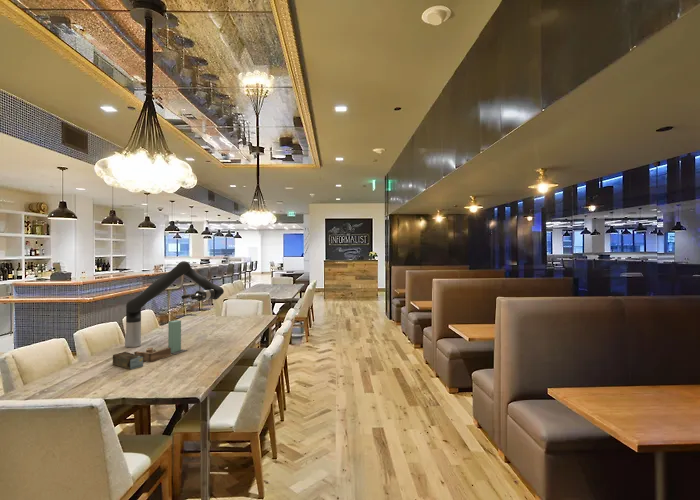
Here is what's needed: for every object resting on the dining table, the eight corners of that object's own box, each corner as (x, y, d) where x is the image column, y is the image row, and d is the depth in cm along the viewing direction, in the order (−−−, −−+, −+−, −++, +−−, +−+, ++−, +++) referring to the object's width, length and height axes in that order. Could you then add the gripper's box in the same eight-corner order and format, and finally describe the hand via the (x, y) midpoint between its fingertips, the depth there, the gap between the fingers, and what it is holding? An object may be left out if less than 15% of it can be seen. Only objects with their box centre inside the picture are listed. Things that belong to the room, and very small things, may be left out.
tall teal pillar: (168, 352, 251) (168, 322, 251) (176, 349, 258) (176, 320, 258) (173, 352, 250) (173, 322, 250) (180, 350, 257) (181, 320, 257)
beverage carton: (129, 370, 215) (129, 358, 215) (111, 365, 225) (111, 353, 225) (143, 366, 222) (143, 355, 222) (125, 361, 232) (125, 350, 232)
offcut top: (146, 354, 237) (146, 350, 237) (147, 352, 242) (147, 348, 242) (151, 353, 238) (151, 349, 238) (152, 351, 243) (152, 347, 243)
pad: (161, 353, 250) (161, 352, 250) (174, 349, 261) (174, 348, 261) (175, 354, 247) (175, 354, 247) (187, 350, 257) (187, 349, 257)
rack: (133, 360, 234) (133, 351, 234) (153, 353, 249) (153, 346, 249) (151, 362, 230) (151, 353, 230) (170, 355, 245) (170, 347, 245)
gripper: (194, 289, 282) (178, 291, 267) (210, 290, 278) (195, 292, 262) (194, 299, 282) (178, 302, 267) (210, 300, 278) (195, 303, 262)
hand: (186, 297), depth 265 cm, fingers open, 8 cm apart
